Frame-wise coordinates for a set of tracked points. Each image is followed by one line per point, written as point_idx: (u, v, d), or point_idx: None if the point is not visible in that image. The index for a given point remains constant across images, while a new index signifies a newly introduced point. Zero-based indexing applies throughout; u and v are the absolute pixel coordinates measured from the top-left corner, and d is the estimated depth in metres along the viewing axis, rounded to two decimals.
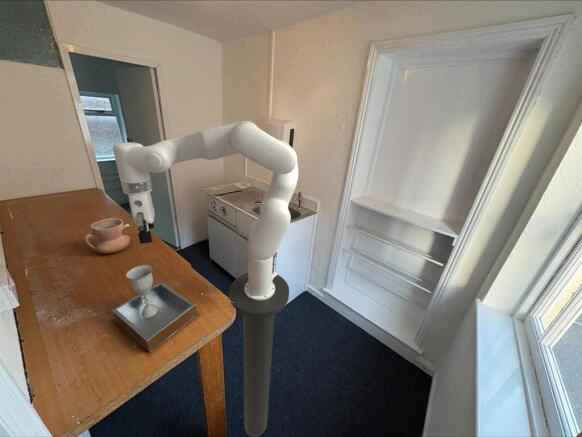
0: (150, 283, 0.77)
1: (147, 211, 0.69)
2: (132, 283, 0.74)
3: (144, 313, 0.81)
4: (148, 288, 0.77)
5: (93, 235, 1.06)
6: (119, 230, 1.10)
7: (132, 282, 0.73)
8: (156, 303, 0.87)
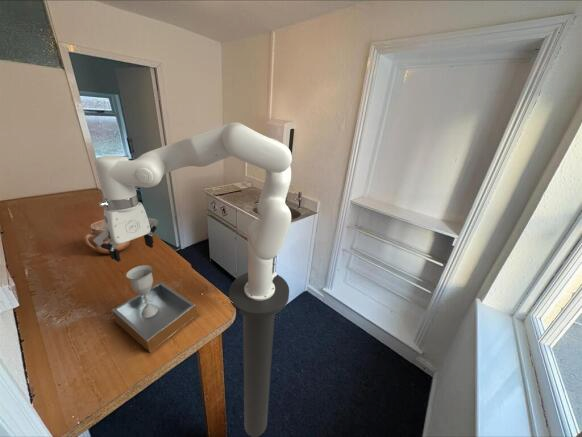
0: (150, 283, 0.77)
1: (111, 230, 0.63)
2: (132, 283, 0.74)
3: (144, 313, 0.81)
4: (148, 288, 0.77)
5: (93, 235, 1.06)
6: None
7: (132, 282, 0.73)
8: (156, 303, 0.87)
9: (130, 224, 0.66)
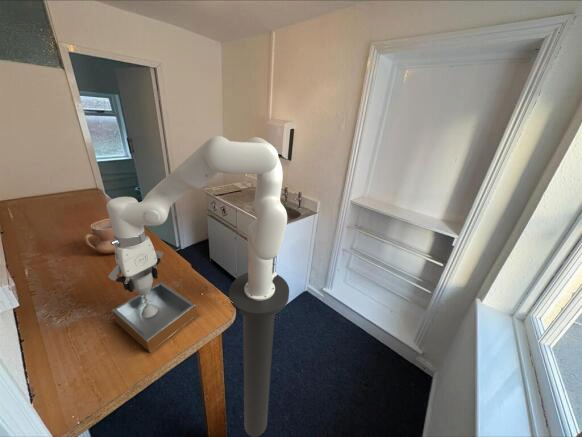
0: (150, 283, 0.77)
1: (122, 265, 0.68)
2: (132, 283, 0.74)
3: (144, 313, 0.81)
4: (148, 288, 0.77)
5: (93, 235, 1.06)
6: None
7: (132, 282, 0.73)
8: (156, 303, 0.87)
9: (139, 258, 0.71)
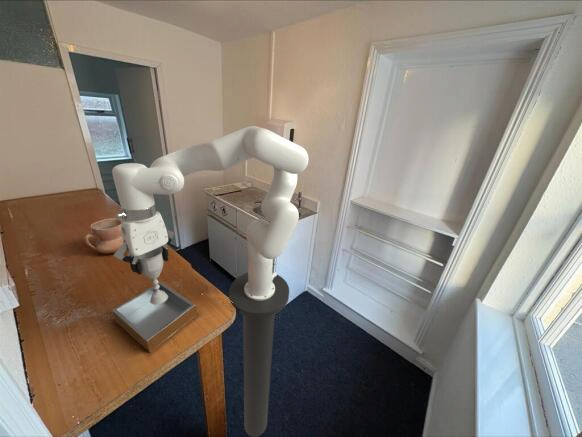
0: (160, 265, 0.68)
1: (129, 242, 0.59)
2: (140, 264, 0.65)
3: (153, 300, 0.72)
4: (158, 271, 0.68)
5: (93, 235, 1.06)
6: (119, 230, 1.10)
7: (141, 263, 0.65)
8: None
9: (148, 235, 0.62)
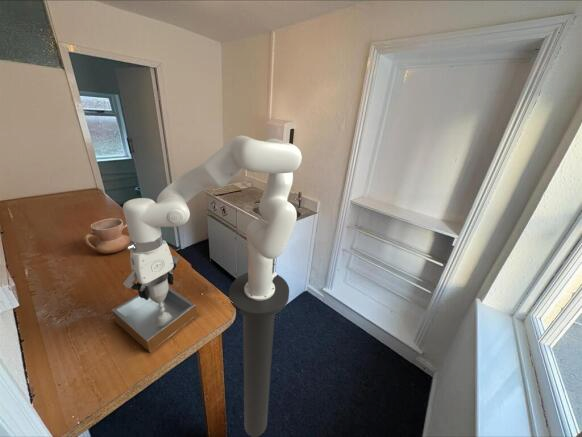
0: (166, 290, 0.72)
1: (138, 272, 0.63)
2: (147, 290, 0.69)
3: (159, 321, 0.76)
4: (164, 295, 0.72)
5: (93, 235, 1.06)
6: (119, 230, 1.10)
7: (148, 289, 0.69)
8: (156, 303, 0.87)
9: (155, 263, 0.66)
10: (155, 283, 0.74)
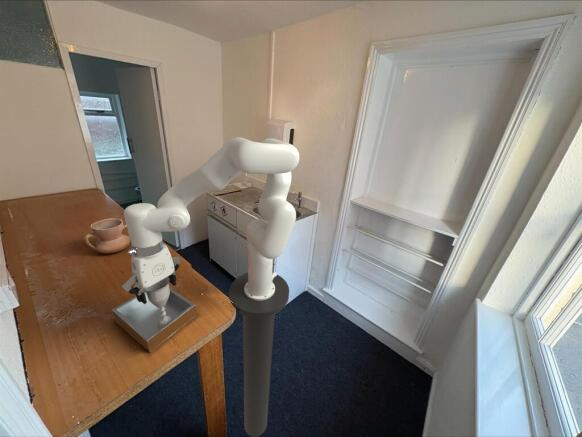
0: (167, 295, 0.73)
1: (139, 276, 0.64)
2: (149, 295, 0.70)
3: (160, 325, 0.77)
4: (165, 300, 0.73)
5: (93, 235, 1.06)
6: (119, 230, 1.10)
7: (149, 294, 0.69)
8: None
9: (156, 268, 0.67)
10: (156, 288, 0.75)
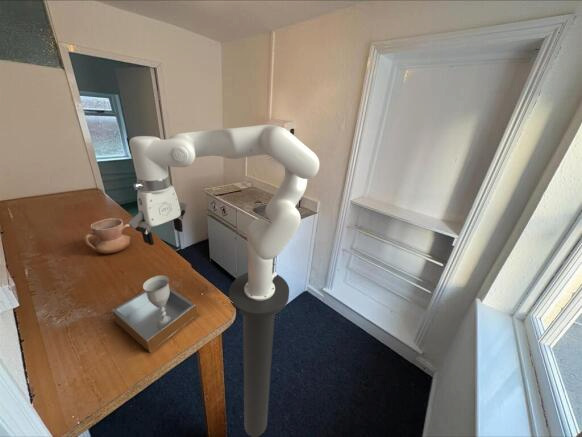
0: (167, 295, 0.73)
1: (146, 212, 0.62)
2: (149, 295, 0.70)
3: (160, 325, 0.77)
4: (165, 300, 0.73)
5: (93, 235, 1.06)
6: (119, 230, 1.10)
7: (149, 294, 0.69)
8: None
9: (163, 206, 0.65)
10: (156, 288, 0.75)
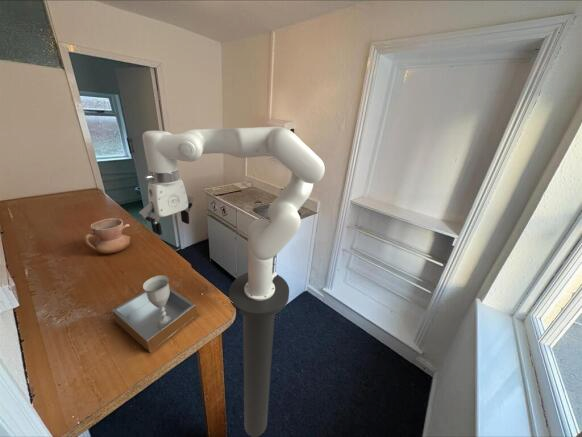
0: (167, 295, 0.73)
1: (155, 203, 0.65)
2: (149, 295, 0.70)
3: (160, 325, 0.77)
4: (165, 300, 0.73)
5: (93, 235, 1.06)
6: (119, 230, 1.10)
7: (149, 294, 0.69)
8: None
9: (172, 198, 0.69)
10: (156, 288, 0.75)
